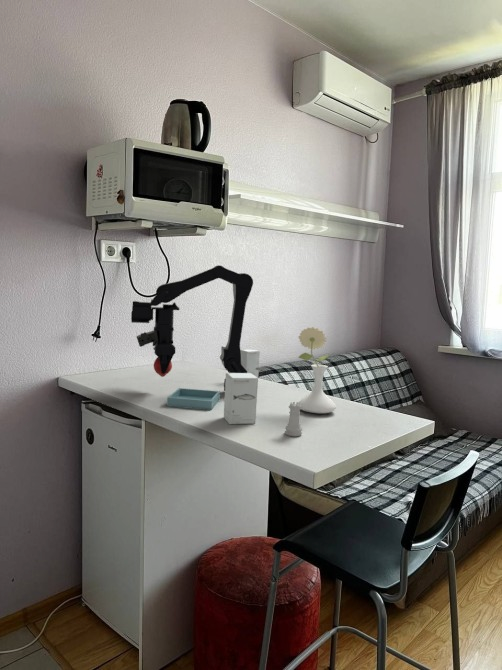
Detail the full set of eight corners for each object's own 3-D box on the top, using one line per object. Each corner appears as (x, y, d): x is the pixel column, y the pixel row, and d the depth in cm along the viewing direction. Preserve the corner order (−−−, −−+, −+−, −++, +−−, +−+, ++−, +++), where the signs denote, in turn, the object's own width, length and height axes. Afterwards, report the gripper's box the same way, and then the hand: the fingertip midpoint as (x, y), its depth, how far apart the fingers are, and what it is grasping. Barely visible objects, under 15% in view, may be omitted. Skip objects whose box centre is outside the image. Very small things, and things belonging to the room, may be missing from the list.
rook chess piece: (301, 431, 135) (303, 401, 134) (303, 437, 131) (305, 405, 130) (283, 431, 135) (285, 400, 134) (285, 436, 131) (287, 405, 130)
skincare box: (245, 384, 189) (247, 351, 187) (238, 382, 192) (239, 349, 191) (258, 383, 193) (260, 350, 191) (251, 381, 196) (252, 348, 195)
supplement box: (229, 425, 138) (231, 377, 137) (223, 417, 145) (225, 372, 144) (256, 424, 140) (258, 377, 139) (248, 416, 147) (251, 372, 146)
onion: (167, 379, 167) (168, 354, 166) (150, 377, 168) (151, 352, 167) (174, 375, 172) (174, 351, 171) (157, 374, 173) (158, 350, 173)
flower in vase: (341, 411, 159) (347, 328, 156) (326, 419, 149) (333, 331, 146) (302, 403, 165) (307, 324, 162) (285, 410, 155) (290, 326, 153)
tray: (219, 399, 165) (220, 391, 165) (211, 409, 152) (211, 401, 152) (178, 396, 167) (179, 388, 166) (167, 406, 154) (167, 397, 153)
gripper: (137, 320, 175) (136, 366, 177) (138, 326, 157) (137, 377, 159) (171, 321, 178) (170, 366, 180) (176, 327, 160) (174, 377, 162)
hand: (162, 371), depth 170 cm, fingers closed on onion, 6 cm apart
